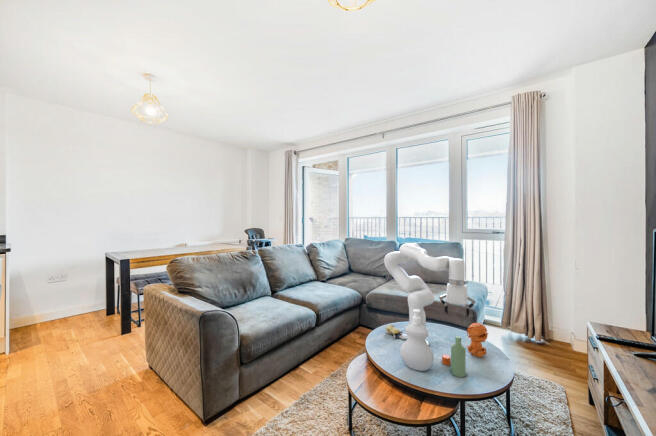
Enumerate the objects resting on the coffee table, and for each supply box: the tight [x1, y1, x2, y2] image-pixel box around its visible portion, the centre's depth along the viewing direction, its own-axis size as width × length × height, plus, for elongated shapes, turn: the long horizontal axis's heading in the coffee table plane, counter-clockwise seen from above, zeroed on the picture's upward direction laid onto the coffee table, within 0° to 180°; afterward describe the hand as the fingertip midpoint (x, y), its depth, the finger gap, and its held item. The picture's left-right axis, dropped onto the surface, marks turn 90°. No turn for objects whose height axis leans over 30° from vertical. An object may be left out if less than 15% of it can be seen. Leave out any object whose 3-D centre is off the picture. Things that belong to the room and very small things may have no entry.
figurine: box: [384, 324, 407, 341], centre depth 173 cm, size 10×6×15 cm
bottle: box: [450, 335, 467, 378], centre depth 132 cm, size 6×6×18 cm
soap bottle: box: [399, 309, 435, 372], centre depth 138 cm, size 17×12×29 cm
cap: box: [441, 354, 451, 366], centre depth 141 cm, size 4×4×4 cm
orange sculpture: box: [466, 321, 489, 358], centre depth 150 cm, size 11×11×18 cm
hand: (456, 314), depth 142 cm, fingers open, 9 cm apart
